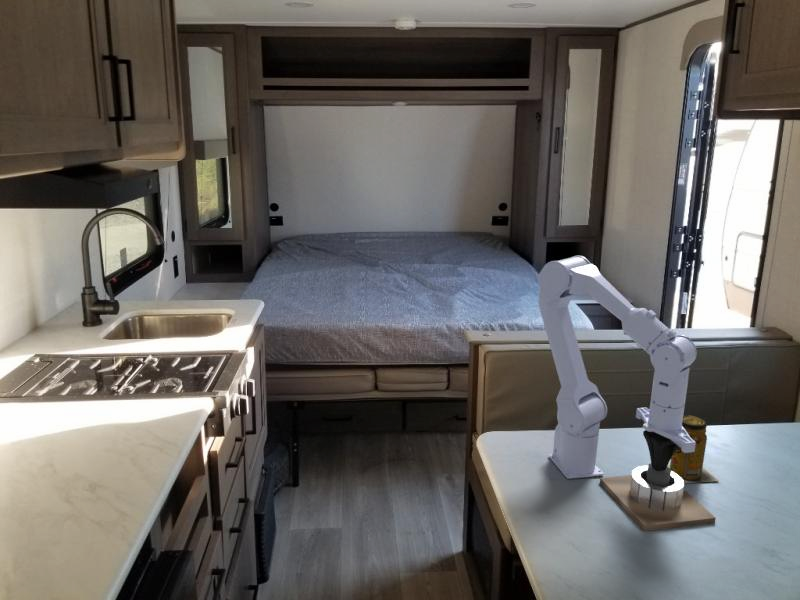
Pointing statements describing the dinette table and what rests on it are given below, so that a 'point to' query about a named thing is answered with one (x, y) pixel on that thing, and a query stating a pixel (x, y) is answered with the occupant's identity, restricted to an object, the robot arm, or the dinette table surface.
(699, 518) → the walnut board
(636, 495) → the white faceted ring
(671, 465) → the condiment
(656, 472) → the dark rounded capsule
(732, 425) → the dinette table surface
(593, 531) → the dinette table surface
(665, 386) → the robot arm
